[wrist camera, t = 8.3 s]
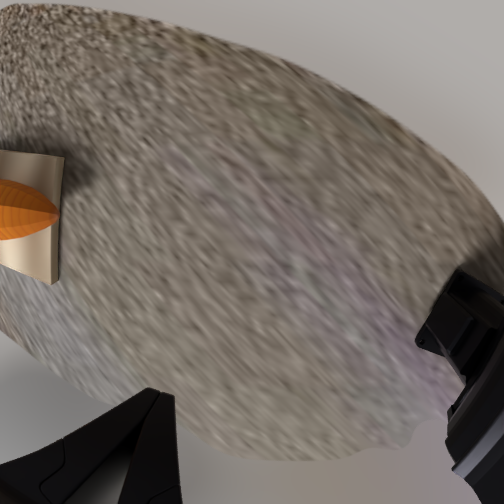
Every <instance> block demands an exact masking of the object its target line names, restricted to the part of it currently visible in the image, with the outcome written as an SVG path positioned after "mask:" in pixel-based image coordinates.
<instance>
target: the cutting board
mask: <svg viewBox="0 0 504 504" xmlns="http://www.w3.org/2000/svg"><path fill="white" fill-rule="evenodd" d="M64 159H65V157H58V156H50V155H43V154H35V153H26V152H18V151H9V150H0V179H5V180H11V181H15V182H18V183H21V184H24V185H27V186H29V187H32V188H34V189H35V190H37V191H38V192H40V193H41V194H43V195H44V196H45V197H46V198H48V199H49V200H50V201H51V202H52V203H53V204H54V205H55V206H56V207H57V209H58V210H59V209H60V195H61V185H62V175H63V167H64ZM58 227H59V219H58V220H57V222H56V223H54V224H53V225H51V226H49V227H47V228H46V229H43V230H41V231H38V232H36V233H33V234H30V235H28V236H25V237H22V238H16V239H10V240H1V241H0V264H2V265H5V266H7V267H9V268H11V269H14V270H16V271H18V272H21V273H23V274H25V275H28V276H30V277H33V278H35V279H37V280H40V281H42V282H45V283H47V284H50V285H52V284H54V283H55V282H57V281H58Z"/></svg>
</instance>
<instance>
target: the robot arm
mask: <svg viewBox="0 0 504 504" xmlns="http://www.w3.org/2000/svg"><path fill="white" fill-rule="evenodd" d="M460 275H461V277H460V279H458V277H459V276H460ZM500 301H501V302H500ZM422 339H423V341H422V342H420V341H421V340H422ZM415 343H416V345H417V346H418V347H419V348H422V349H425V350H427V351H430V352H432V353H435V354H438V355H441V356H443V357H446V359H447V360H448V361H449V363H450V364H451V366H452V367H453V369H454V370H455V372H456V373H457V375H458V376H459V378H460V379H461V381H462V382H463V384H464V385H465V388H464V389H463V391H462V392H461V394H460V395H459V397H458V398H457V400H456V401H455V403H454V404H453V405H451V407H450V408H449V409H448V411H447V415H448V427H447V435H448V437H447V438H446V440H445V444H446V447H447V450H448V452H449V454H450V456H451V457H452V459H453V461H454V462H455V465H454V466H453V467H452V471H453V472H454V473H456V474H457V475H459V476H460V477H462V478H463V479H464V480H465V481H466V482H467V483H468V484H469V485H470V486H471V487H472V488H473V490H474V491H475V493H476V494H477V496H478V498H479V500H480V501H481V503H482V504H504V296H503V295H501V294H500V293H498V292H496V291H495V290H493V289H492V288H490V287H488V286H487V285H485V284H484V283H482V282H480V281H479V280H477V279H475V278H474V277H472V276H470V275H469V274H467V273H465V272H464V271H462V270H457V271H455V273H454V274H453V276H452V278H451V280H450V282H449V283H448V285H447V287H446V289H445V291H444V292H443V294H442V295H441V297H440V299H439V301H438V302H437V304H436V306H435V307H434V309H433V311H432V312H431V314H430V316H429V317H428V319H427V321H426V323H425V324H424V326H423V327H422V329H421V331H420V332H419V334H418V335H417V337H416V339H415ZM177 450H178V449H177V433H176V414H175V396H174V395H172V394H168V393H165V392H160V391H159V390H156V389H153V388H150V387H148V388H145V389H144V390H142V391H141V392H139V393H137V394H136V395H134V396H132V397H131V398H129V399H128V400H126V401H124V402H123V403H121V404H119V405H118V406H116V407H114V408H113V409H111V410H109V411H108V412H106V413H104V414H103V415H101V416H99V417H98V418H96V419H94V420H93V421H91V422H89V423H88V424H86V425H84V426H83V427H81V428H79V429H77V430H75V431H74V432H72V433H70V434H68V435H67V436H65V437H64V438H63V439H62V438H61V439H59V440H57V441H56V442H54V443H52V444H50V445H48V446H46V447H44V448H42V449H40V450H38V451H35V452H33V453H30V454H28V455H26V456H23V457H20V458H17V459H15V460H12V461H9V462H6V463H3V464H0V504H183V501H182V494H181V486H180V475H179V463H178V451H177Z"/></svg>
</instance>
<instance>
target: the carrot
mask: <svg viewBox="0 0 504 504" xmlns="http://www.w3.org/2000/svg"><path fill="white" fill-rule="evenodd" d="M59 217H60V213H59V210H58V209H57V207H56V206H55V205H54V204H53V203H52V202H51V201H50V200H49V199H48V198H46V197H45V196H44V195H43V194H41V193H40V192H38V191H37V190H35V189H34V188H32V187H29V186H27V185H24V184H21V183H18V182H15V181H11V180H5V179H0V241H1V240H10V239H16V238H22V237H25V236H28V235H30V234H33V233H36V232H38V231H41V230H43V229H46V228H47V227H49V226H51V225H53V224H54V223H56V222H57V220H58V219H59Z"/></svg>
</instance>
